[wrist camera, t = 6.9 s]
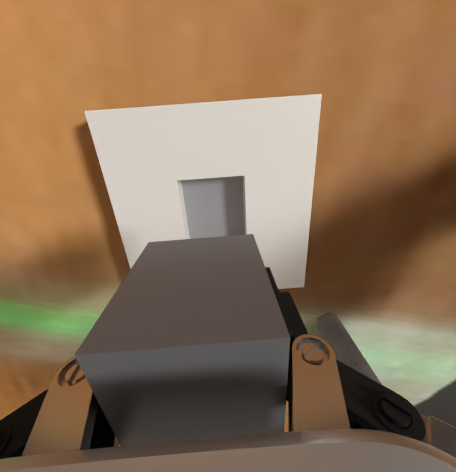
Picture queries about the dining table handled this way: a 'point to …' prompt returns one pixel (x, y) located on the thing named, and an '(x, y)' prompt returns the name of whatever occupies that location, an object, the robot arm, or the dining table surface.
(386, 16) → the dining table surface
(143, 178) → the socket
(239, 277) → the plug
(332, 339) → the hip flask
